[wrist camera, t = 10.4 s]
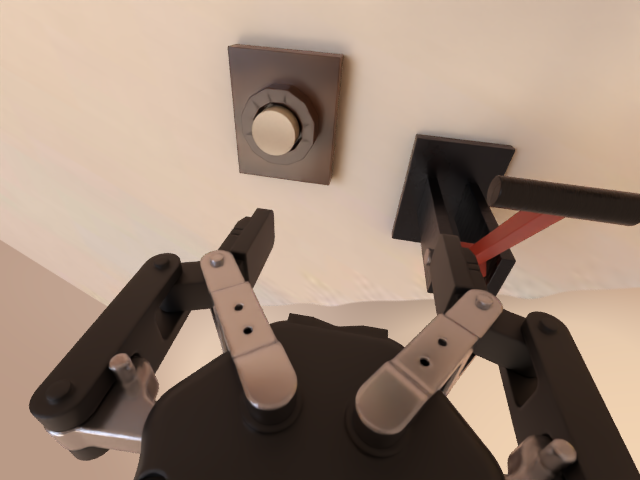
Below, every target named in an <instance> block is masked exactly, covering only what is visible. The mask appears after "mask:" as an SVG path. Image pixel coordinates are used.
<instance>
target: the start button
mask: <svg viewBox="0 0 640 480" xmlns="http://www.w3.org/2000/svg"><path fill="white" fill-rule="evenodd" d="M299 132H300V128H299V123H298V121H297V119H296V117H295V115H294V114H293V113H292V112H291V111H290V110H288V109H287V108H285V107H282V106H270V107H268V108H266V109H265V110H263V111H262V112H261V113H260V114H259V115H257V117H256V118H255V119H254V121H253V124H252V135H253V139H254V141H255V143H256V144H257V146H258V147H259V148H260V149H261V150H262V151H264V152H265V153H267V154H270V155H275V156H279V155H283V154H286V153H287V152H289V151H290V150H291V148H292V147H293V146H294V144H295V143H296V141H297V139H298V137H299Z"/></svg>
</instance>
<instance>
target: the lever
mask: <svg viewBox="0 0 640 480" xmlns="http://www.w3.org/2000/svg"><path fill="white" fill-rule="evenodd" d="M487 203H488V205H489V206H491V207H497V208H504V209H511V210H519V212H518V213H516V214H515V215H514V216H512V217H511V218H510V219H508V220H507V221H505V222H504V223H503V224H501V225H500V226H499V227H497V228H496V229H494V230H493V231H492V232H490V233H489V234H488V235H486V236H485V237H483V238H482V239H481V240H479V241H478V242H476V243H475V244H473V243H466V242H460V243H461V246H462V247H465V248H469V249H470V250H471V251H472V253H473V254H474V255H475V256H476V259H477V261H478V265H479V267H480V272H481V273H482V275H483V277H485V276H486V261H487V260H489V259H491V258H493V257H495V256H496V255H498V254H500V253H502V252H504V251H505V250H507V249H509V248H511V247H513V246H514V245H516V244H518V243H520V242H522V241H523V240H525V239H527V238H529V237H531V236H532V235H534V234H536V233H538V232H540V231H541V230H543V229H545V228H547V227H549V226H550V225H552V224H554V223H556V222H558V221H559V220H561V219H563V218H565V217H568V218H575V219H583V220H590V221H597V222H604V223H611V224H618V225H625V226H633V225H636V224H638V223H640V194H638V193H630V192H623V191H615V190H607V189H600V188H592V187H584V186H577V185H569V184H561V183H554V182H546V181H538V180H531V179H523V178H515V177H508V176H500V175H498V176H495V177H494V178H493V180H492V181H491V183H490V186H489V189H488V193H487Z"/></svg>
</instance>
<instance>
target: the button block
mask: <svg viewBox="0 0 640 480" xmlns="http://www.w3.org/2000/svg"><path fill="white" fill-rule="evenodd" d="M228 55H229V66H230V76H231V87H232V97H233V108H234V118H235V129H236V139H237V150H238V160H239V171H240V173H244V174H252V175H259V176H266V177H273V178H280V179H287V180H294V181H301V182H308V183H315V184H323V185H329V184H330V181H331V178H332V169H333V158H334V148H335V137H336V127H337V116H338V106H339V95H340V85H341V74H342V64H343V55H342V54H332V53H322V52H312V51H301V50H291V49H281V48H271V47H261V46H251V45H241V44H235V45H231V46H228ZM270 106H282V107H285V108H287V109H288V110H290V111H291V112H292V113H293V114H294V115H295V117H296V119H297V121H298V123H299V128H300V132H299V137H298V139H297V141H296V143H295V144H294V146H293V147H292V148H291V150H290V151H289V152H287V153H286V154H283V155H279V156H275V155H270V154H267V153H265V152H264V151H262V150H261V149H260V148H259V147H258V146H257V144H256V143H255V141H254V139H253V135H252V124H253V121H254V119H255V118H256V117H257V115H259V114H260V113H261V112H262V111H263V110H265V109H266V108H268V107H270Z"/></svg>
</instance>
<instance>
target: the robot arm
mask: <svg viewBox="0 0 640 480" xmlns="http://www.w3.org/2000/svg"><path fill="white" fill-rule="evenodd" d="M274 238H275V233H274V213H273V210H267V209H260V208H257V209H256V211H255V212H254V214H253V215H252V217H245V218H243V219H241V220H240V221H238V222H237V224H236V225H235V227H234V229H232V231H231V232H230V234H229V235H228V237H227V238H226V239H225V241H224V242H223V244H222V245H221V246H220V248H219V249H218V250H216V251H212V252H209V253H207V254H205V255H204V256H203V257H202V258H201V260H200V261H197V262H185V263H181V261H180V258H179V257H178V256H177V255H175V254H171V253H164V254H159V255H156V256H154V257H152V258H150V259H149V260H147V261H146V263H145V264H144V265H143V266H142V267H141V268H140V270H139V271H138V272H137V273H136V274H135V275H134V277H133V278H132V279H131V280H130V281H129V282H128V284H127V285H126V286H125V287H124V288H123V289H122V291H121V292H120V293H119V294H118V295H117V296H116V298H115V299H114V300H113V301H112V302H111V303H110V305H109V306H108V307H107V308H106V309H105V310H104V312H103V313H102V314H101V315H100V316H99V317H98V319H97V320H96V321H95V322H94V323H93V324H92V326H91V327H90V328H89V329H88V330H87V331H86V333H85V334H84V335H83V336H82V337H81V338H80V340H79V341H78V342H77V343H76V344H75V345H74V346H73V348H72V349H71V350H70V351H69V352H68V353H67V355H66V356H65V357H64V358H63V359H62V360H61V362H60V363H59V364H58V365H57V366H56V367H55V369H54V370H53V371H52V372H51V373H50V374H49V376H48V377H47V378H46V379H45V380H44V382H43V383H42V384H41V385H40V386H39V387H38V389H37V390H36V391H35V392H34V394H33V396H32V397H31V400H30V404H29V409H30V412H31V413H32V414H33V416H34V417H36V419H38V421H39V422H41V424H43V425H44V428H45V430H46V431H47V432H48V433H49V434H50V435H51V436H52V437H53V438H54V439H55V440H56V441H57V442H58V443H59V444H60V445H61V446H62V447H64V448H65V449H67V450H69V451H70V452H71V453H72V454H73V455H74V456H75V457H76V458H77V459H79V460H86V461H87V460H92V459H95V458H98V457H99V456H101V455H103V454H105V453H106V452H107V451H108V450H109V449H113V450H119V451H126V452H132V453H139V454H140V459H139V463H138V468H137V471H136V474H135V477H134V480H640V474H639V472H638V470H637V468H636V466H635V464H634V462H633V460H632V458H631V455H630V454H629V451H628V449H627V447H626V445H625V443H624V441H623V439H622V437H621V436H620V433H619V431H618V429H617V427H616V425H615V423H614V421H613V419H612V417H611V415H610V413H609V411H608V409H607V407H606V405H605V403H604V401H603V399H602V397H601V395H600V393H599V391H598V389H597V387H596V385H595V383H594V381H593V379H592V376H591V374H590V372H589V370H588V368H587V367H586V364H585V362H584V360H583V358H582V356H581V354H580V352H579V350H578V348H577V346H576V344H575V342H574V340H573V338H572V336H571V334H570V332H569V330H568V328H567V327H566V326H565V325H564V324H563V323H562V322H561V321H560V320H558V319H557V318H555V317H554V316H552V315H549V314H547V313H543V312H531V313H529V314H528V316H527V317H526V318H524V317H522V316H519V315H516V314H514V313H511V312H509V311H507V310H505V309H503V306H502V303H501V301H500V300H499V299H498V298H497V297H496V296H494V295H493V294H491V293H489V292H488V289H487V286H486V284H485V281H484V278H483V275H482V273H481V272H480V267H479V265H478V261H477V259H476V256H475V255H474V254H473V253H472V251H471V250H470V249H469V248H465V247H462V246H461V243H460V240H459V237H458V236H456V235H448V234H440V236H439V238H438V241H437V244H436V247H435V250H434V253H433V256H432V259H431V263H430V275H431V281H432V288H433V294H434V300H435V306H436V312H437V316H436V317H435V318H434V319H433V320H432V321H431V322H430V323H429V324H428V325H427V326H426V327H425V328H424V329H423V330H422V331H421V332H420V333H419V334H418V335H417V336H416V337H415V338H414V339H413V340H412V341H411V342H410V343H409V344H408V345H407V346H406V347H403V346H402V345H401V344H399V343H397V342H396V341H394V340H392V339H390V338H388V330H386V329H380V328H374V327H368V326H343V327H338V326H334V325H332V324H329V323H327V322H324V321H322V320H319V319H316V318H314V317H309V316H303V315H298V314H292V313H290V314H289V317H288V320H287V321H279V322H275V323H272V324H269V322H268V320H267V318H266V316H265V314H264V312H263V310H262V308H261V306H260V303H259V301H258V299H257V297H256V295H255V293H254V291H253V287H254V285H255V283H256V281H257V279H258V277H259V275H260V273H261V271H262V269H263V267H264V264H265V262H266V260H267V258H268V256H269V254H270V252H271V250H272V248H273V245H274ZM208 308H209V309H210V310H211V313H212V316H213V320H214V323H215V326H216V329H217V332H218V336H219V339H220V342H221V346H222V350H223V354H221V355H220V356H218V357H217V358H215V359H214V360H212V361H211V362H209V363H208V364H206V365H205V366H203V367H202V368H200V369H199V370H197V371H196V372H194V373H193V374H191V375H190V376H188V377H187V378H185V379H184V380H182V381H181V382H179V383H178V384H176V385H175V386H173V387H172V388H171V389H169V390H168V391H167V392H166V393H164V394H163V395H162V396H161V398H160V399H159V400H158V401H155V398H156V395H157V393H158V389H159V383H158V380H157V378H156V376H155V373H156V371H157V369H158V368H159V366H160V364H161V362H162V361H163V359H164V357H165V355H166V354H167V352H168V350H169V348H170V347H171V345H172V343H173V341H174V339H175V338H176V336H177V334H178V333H179V331H180V329H181V327H182V326H183V324H184V322H185V320H186V319H187V317H188V315H189V313H190V312H191V310H200V309H208ZM476 356H480V357H482V358H485V359H486V360H489V361H491V362H493V363H496V364H498V366H499V370H500V374H501V378H502V382H503V386H504V390H505V394H506V398H507V402H508V406H509V410H510V414H511V419H512V423H513V427H514V431H515V434H516V439H517V443H518V447H517V448H516V449H515V450H514V451H513V452H512V453H511V454H510V456H509V458H508V474H507V475H506V474H503V472H502V470H501V468H500V466H499V464H498V462H497V461H496V459H495V457H494V456H493V455H492V453H491V452H490V451H489V449H488V448H487V447H486V446H485V445H484V443H483V442H482V441H481V439H480V438H479V437H478V436H477V435H476V433H475V432H474V431H473V429H472V428H471V427H470V426H469V424H468V423H467V422H466V421H465V419H464V418H463V417H462V416H461V414H460V413H459V412H458V411H457V410H456V408H455V407H454V406H453V405H452V403H451V402H450V401H449V400H448V398H447V397H446V396H447V395H448V393H449V392H450V390H451V389H452V387H453V386H454V384H455V383H456V382H457V380H458V379H459V378H460V376H461V375H462V374H463V372H464V371H465V370H466V369H467V367H468V366H469V365H470V363H471V362H472V361H473V359H474V358H475V357H476Z"/></svg>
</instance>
